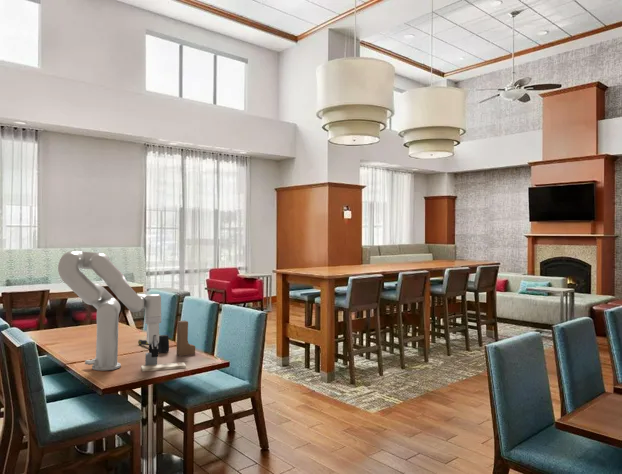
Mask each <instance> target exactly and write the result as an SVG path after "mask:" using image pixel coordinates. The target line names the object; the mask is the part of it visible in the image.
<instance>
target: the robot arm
mask: <svg viewBox="0 0 622 474" xmlns="http://www.w3.org/2000/svg"><path fill="white" fill-rule="evenodd" d="M110 260H111V258H110V257H109V256H108V255H107V254H105V253H103V252H91V251H84V250H83V251H82V250H81V251H80V250H71V251H67V252H65V253H64V254H63V255H62V256H61V257H60V259H59V262H58V264H57V271H58V272H57V273H58V275H59V277H60V279H61V280H62V281H63V283H64V284H65V285H66V286H68V288H69V289H71V291H73V293H74V294H75V295H76V296H78V298H80V300H82V302H83V303H84V304H87V305H88V306H89V305H90V306H93V307H94V308H95V309H96V343H95V345H96V346H95V348H96V349H95V352H96V353H95V356H94V358H92V359H86V360H84V361H85V362H84V365H89V366H90V365H92V366H91V368H92V370H94V371H102V372H105V371H113V370H117V369H120V368H121V366H122V364H121V363H120V362H118V357H119V356H118V354H119V353H118V352H119V351H118V349H119V315H120V313H121V304H120V302H121V303H122V304H123V306H125V307H126V309H128V310H129V311H131V312H132V313H138V312H141V310H143V309H144V322H145V324H146V340H147V343H148V344H149V345H148V353H151V357H157V358H158V357H159V352H158V343H159V336H160V324H161V323H162V296H161V295H160V294H159V293H152V294H151V293H149V294H141V293H137V292H136V291H135V290H134V289H133V288H132V287H131V286H130V284H129V283H128V280H127V279H126V276H125V275H124V274H123V272H121V271H120V269H118V268H117V266H115V264H114V263H113V262H112V261H110ZM80 269H82V270H83V269H84V270H91V271H93V272H94V273H95V274H96V275H97V276H98V277H99V278H100V279H101V281H102V282H104V284H105V285H106V286H107V288H109V289H110V290H111V291H112V293H113V294H114V295H115V296H116V297H114V296H113V295H112V293H110V292H109V291H108V290H107V289H106V288H105V287H104V286H102V285H101V284H99V283H96V282H95V283H94V282H93V281H92V280H90V279H89V278H88V277H87V276H86V275H85V274H84V273H83V272H82V271H81V270H80ZM116 298H117V299H116ZM118 300H119V301H120V302H119V301H118Z"/></svg>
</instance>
